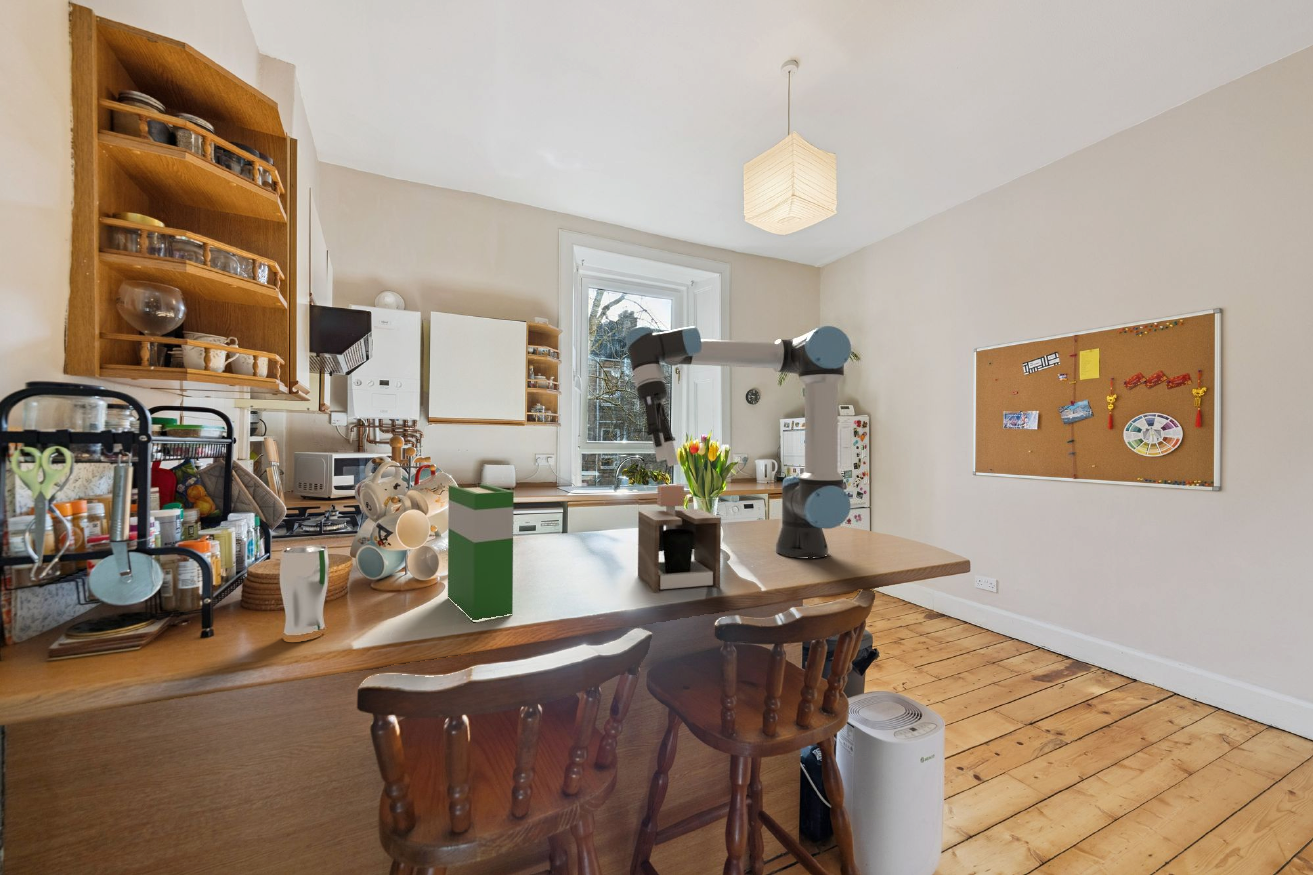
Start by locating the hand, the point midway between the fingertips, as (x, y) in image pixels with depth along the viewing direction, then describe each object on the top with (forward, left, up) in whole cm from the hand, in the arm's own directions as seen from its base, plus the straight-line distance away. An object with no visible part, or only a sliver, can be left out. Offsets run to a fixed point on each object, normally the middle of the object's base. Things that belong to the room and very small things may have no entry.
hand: (668, 463), depth 130 cm
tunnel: (0, +8, -28) cm, 29 cm away
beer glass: (+73, +22, -28) cm, 81 cm away
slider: (0, +8, -28) cm, 29 cm away
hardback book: (+45, +14, -28) cm, 55 cm away
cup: (0, +8, -28) cm, 29 cm away
